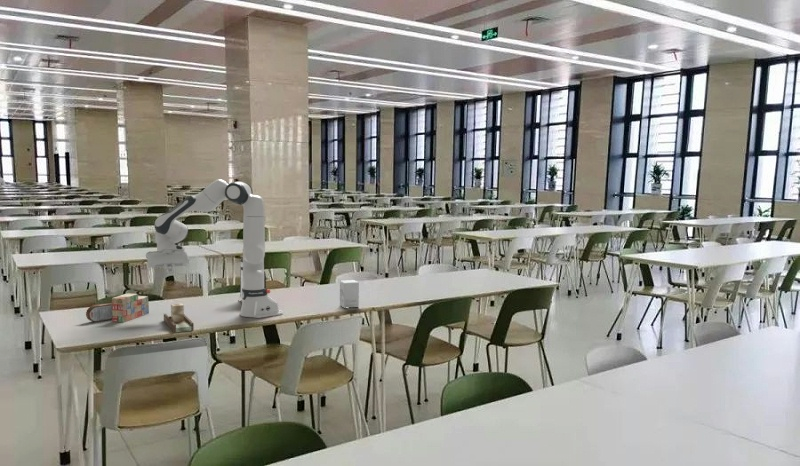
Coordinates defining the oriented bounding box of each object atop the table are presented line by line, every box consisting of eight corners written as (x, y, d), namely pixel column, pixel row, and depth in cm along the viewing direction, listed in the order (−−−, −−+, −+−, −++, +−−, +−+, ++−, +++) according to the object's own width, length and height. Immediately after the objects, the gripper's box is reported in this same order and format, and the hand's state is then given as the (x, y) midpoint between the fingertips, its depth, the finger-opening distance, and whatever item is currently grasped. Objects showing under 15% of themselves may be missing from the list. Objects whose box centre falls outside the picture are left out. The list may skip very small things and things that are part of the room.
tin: (116, 317, 308) (116, 301, 307) (119, 318, 306) (118, 302, 305) (85, 322, 296) (85, 305, 295) (88, 323, 294) (88, 306, 293)
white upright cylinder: (235, 304, 346) (235, 252, 343) (241, 298, 362) (241, 249, 359) (265, 304, 346) (265, 253, 344) (270, 299, 362) (270, 249, 359)
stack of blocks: (138, 312, 320) (138, 289, 319) (149, 313, 319) (148, 290, 317) (112, 321, 299) (111, 297, 298) (123, 322, 298) (122, 298, 297)
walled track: (182, 319, 308) (182, 312, 307) (193, 330, 286) (193, 323, 286) (163, 320, 303) (163, 313, 303) (173, 332, 281) (173, 325, 281)
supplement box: (354, 304, 352) (354, 279, 351) (358, 307, 344) (359, 282, 343) (339, 305, 349) (339, 280, 348) (343, 308, 341) (344, 282, 339)
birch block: (181, 319, 299) (181, 303, 299) (183, 321, 295) (183, 305, 294) (171, 320, 297) (170, 304, 296) (173, 322, 292) (172, 306, 292)
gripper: (146, 248, 308) (149, 269, 301) (187, 246, 319) (191, 267, 311) (144, 255, 312) (147, 277, 305) (185, 254, 323) (189, 274, 316)
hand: (170, 272), depth 308 cm, fingers closed
